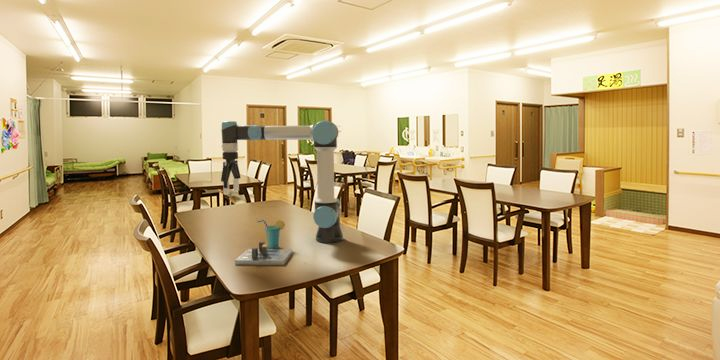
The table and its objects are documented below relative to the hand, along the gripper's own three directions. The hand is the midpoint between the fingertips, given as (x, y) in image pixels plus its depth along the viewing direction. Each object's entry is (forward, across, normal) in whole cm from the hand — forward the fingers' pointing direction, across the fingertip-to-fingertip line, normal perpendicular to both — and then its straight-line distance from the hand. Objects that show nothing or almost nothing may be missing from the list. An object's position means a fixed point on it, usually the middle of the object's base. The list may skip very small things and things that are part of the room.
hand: (231, 192), depth 207 cm
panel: (+28, +22, +23) cm, 43 cm away
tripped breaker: (+26, +22, +23) cm, 41 cm away
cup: (+28, +3, +21) cm, 35 cm away
